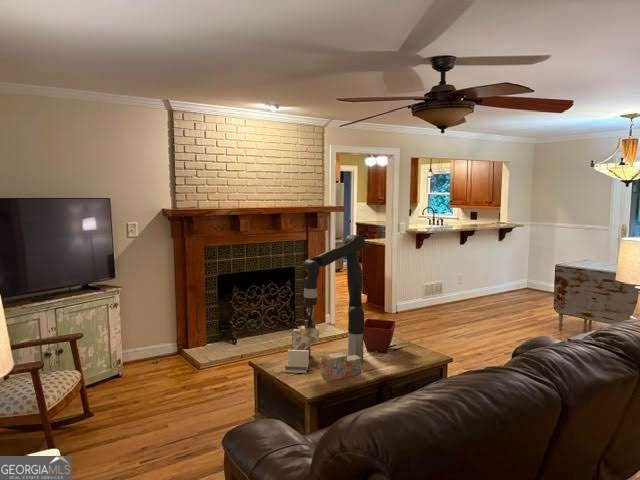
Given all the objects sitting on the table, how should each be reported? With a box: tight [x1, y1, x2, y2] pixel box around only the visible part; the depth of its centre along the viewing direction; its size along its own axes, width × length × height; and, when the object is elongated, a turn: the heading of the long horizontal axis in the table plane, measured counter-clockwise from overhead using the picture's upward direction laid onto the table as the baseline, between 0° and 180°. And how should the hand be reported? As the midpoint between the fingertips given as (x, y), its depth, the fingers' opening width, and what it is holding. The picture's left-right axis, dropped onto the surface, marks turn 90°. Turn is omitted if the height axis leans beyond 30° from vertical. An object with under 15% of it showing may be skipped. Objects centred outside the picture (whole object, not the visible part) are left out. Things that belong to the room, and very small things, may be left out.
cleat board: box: [284, 349, 310, 374], centre depth 265 cm, size 12×12×9 cm
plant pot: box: [363, 318, 396, 354], centre depth 295 cm, size 19×19×17 cm
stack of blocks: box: [321, 351, 362, 382], centre depth 255 cm, size 21×6×12 cm, turn 116°
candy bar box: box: [291, 328, 312, 358], centre depth 283 cm, size 11×5×16 cm, turn 84°
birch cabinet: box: [300, 319, 320, 344], centre depth 261 cm, size 10×5×12 cm, turn 85°
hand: (309, 325), depth 260 cm, fingers closed on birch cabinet, 1 cm apart
